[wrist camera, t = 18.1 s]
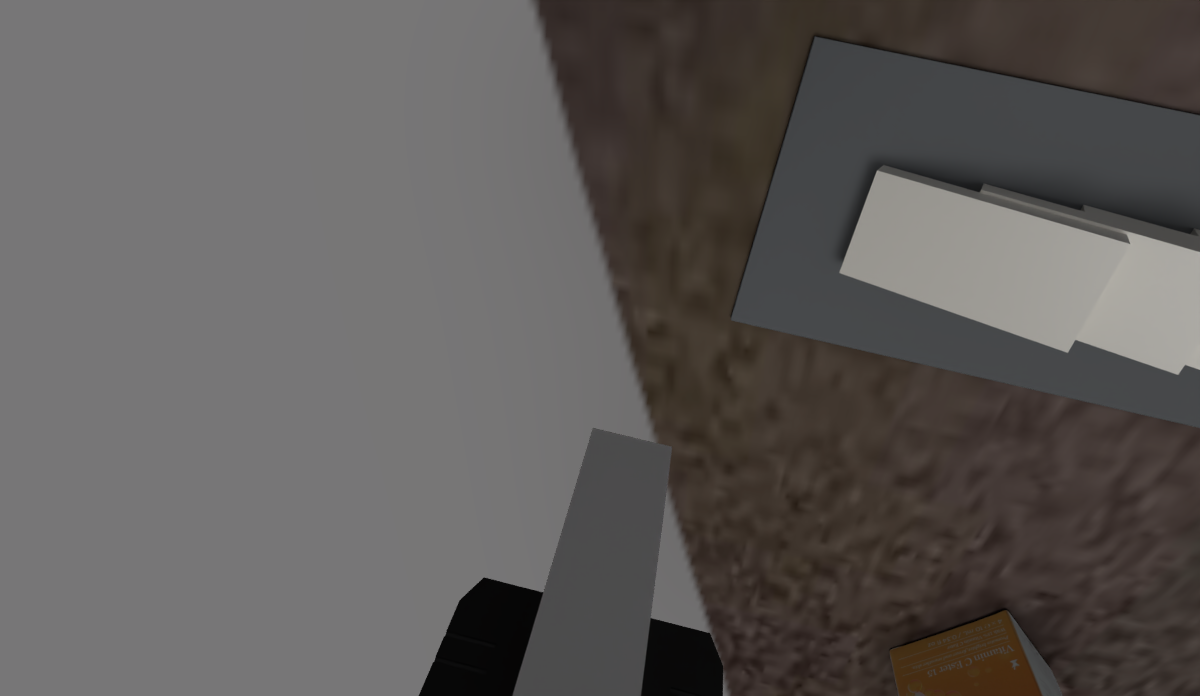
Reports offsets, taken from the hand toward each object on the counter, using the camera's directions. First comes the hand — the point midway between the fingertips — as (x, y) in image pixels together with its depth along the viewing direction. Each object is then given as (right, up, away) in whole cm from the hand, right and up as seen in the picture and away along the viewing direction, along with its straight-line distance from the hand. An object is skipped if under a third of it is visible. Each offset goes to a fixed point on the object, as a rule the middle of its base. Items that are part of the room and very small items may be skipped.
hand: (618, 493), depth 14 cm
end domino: (+12, +9, +20) cm, 25 cm away
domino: (+16, +8, +19) cm, 27 cm away
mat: (+22, +7, +20) cm, 31 cm away
